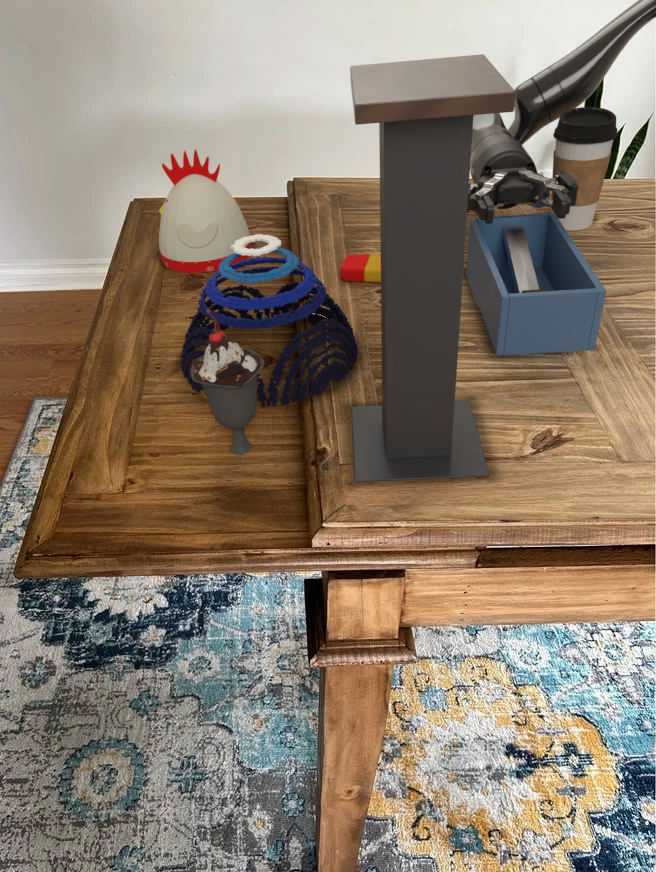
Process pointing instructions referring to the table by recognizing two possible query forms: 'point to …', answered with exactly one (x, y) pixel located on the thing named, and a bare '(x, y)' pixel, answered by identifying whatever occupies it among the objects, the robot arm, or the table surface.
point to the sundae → (229, 384)
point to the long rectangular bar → (520, 260)
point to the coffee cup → (584, 158)
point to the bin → (534, 311)
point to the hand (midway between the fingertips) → (526, 213)
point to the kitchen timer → (198, 219)
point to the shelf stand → (422, 262)
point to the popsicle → (361, 268)
